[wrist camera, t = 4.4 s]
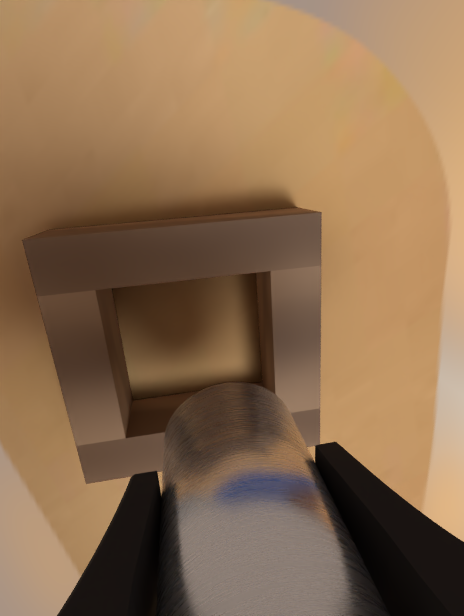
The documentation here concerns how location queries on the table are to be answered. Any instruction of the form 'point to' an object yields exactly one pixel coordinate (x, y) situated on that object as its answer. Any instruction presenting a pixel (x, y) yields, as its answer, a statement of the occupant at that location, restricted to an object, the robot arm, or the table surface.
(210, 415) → the metal peg
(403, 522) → the robot arm
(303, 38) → the table surface
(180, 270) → the walnut socket block
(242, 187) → the table surface
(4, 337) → the table surface
